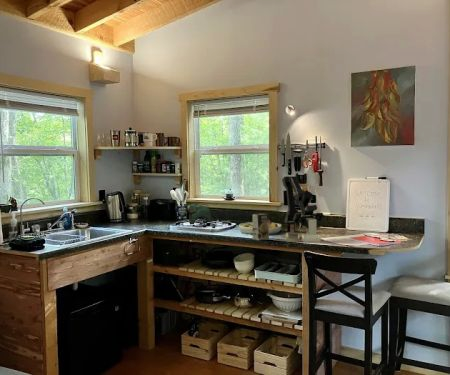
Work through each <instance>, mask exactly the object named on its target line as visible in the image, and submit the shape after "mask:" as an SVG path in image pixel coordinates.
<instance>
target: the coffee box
mask: <svg viewBox="0 0 450 375" xmlns="http://www.w3.org/2000/svg"><path fill="white" fill-rule="evenodd" d="M269 220H270V214H269V213H263V212H262V213H254V214H252V222H253V234H252V240H256V241H261V240H268V239H269V240H270V234H269Z"/></svg>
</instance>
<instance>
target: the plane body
mask: <svg viewBox="0 0 450 375" xmlns="http://www.w3.org/2000/svg"><path fill="white" fill-rule="evenodd" d="M300 241H301V240H300V234H299V232H294V225H290V232H286V233H285V242H286V243H288V242H289V243H300Z"/></svg>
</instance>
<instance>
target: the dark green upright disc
mask: <svg viewBox="0 0 450 375" xmlns="http://www.w3.org/2000/svg"><path fill="white" fill-rule="evenodd" d="M196 202H199V199H198V200H195V201H194V204H192V203H189V205H188V206H187V212H188V213H189V216H188V223H190V224H194V223H195V224H196V220H197V219H198V218H203V219H204V220H205V223H206V222H211V223H212V218H213V217H212V211H211V209H210V206H209V205H208V204H204V203H202V204H200V205H198V204H196Z"/></svg>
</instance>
